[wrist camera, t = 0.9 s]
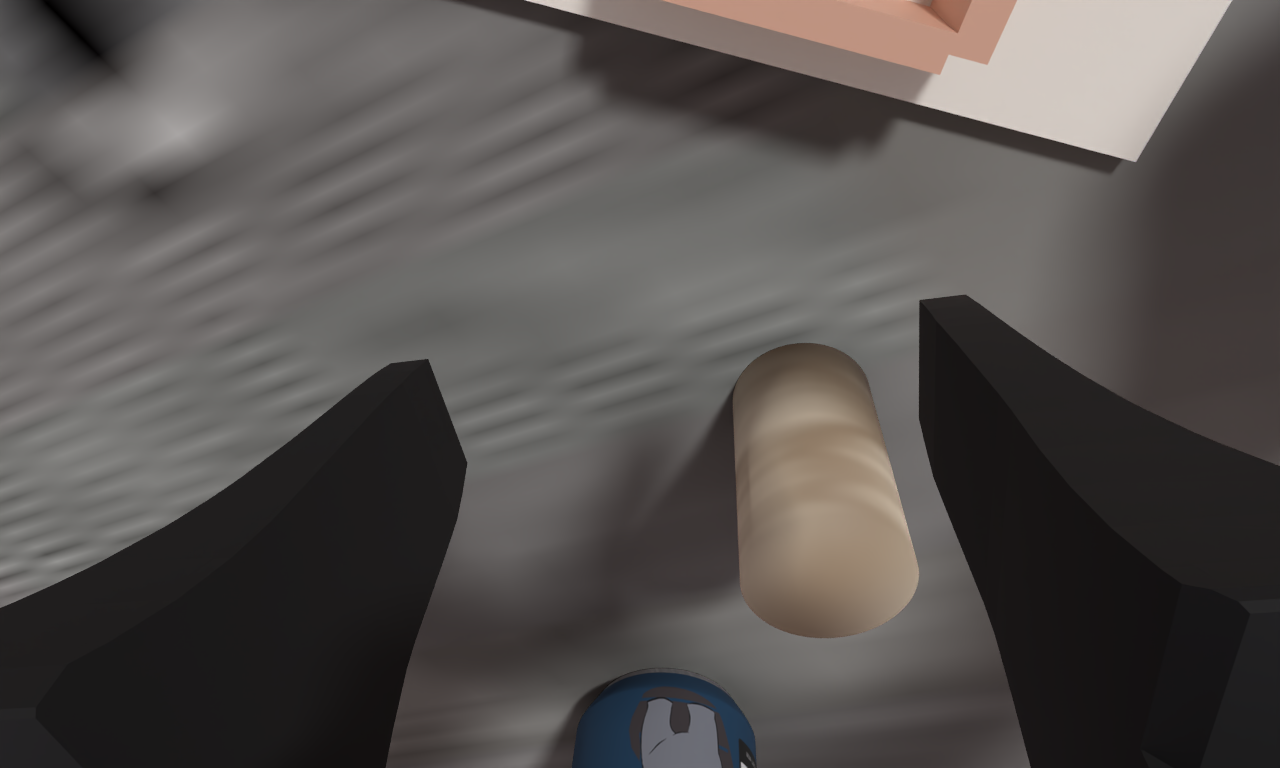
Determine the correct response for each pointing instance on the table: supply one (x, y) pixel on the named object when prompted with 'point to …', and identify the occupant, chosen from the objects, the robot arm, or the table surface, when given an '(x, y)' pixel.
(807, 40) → the cup bracket
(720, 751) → the soda can
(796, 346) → the beige cylinder
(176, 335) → the table surface
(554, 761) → the table surface
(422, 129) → the table surface
